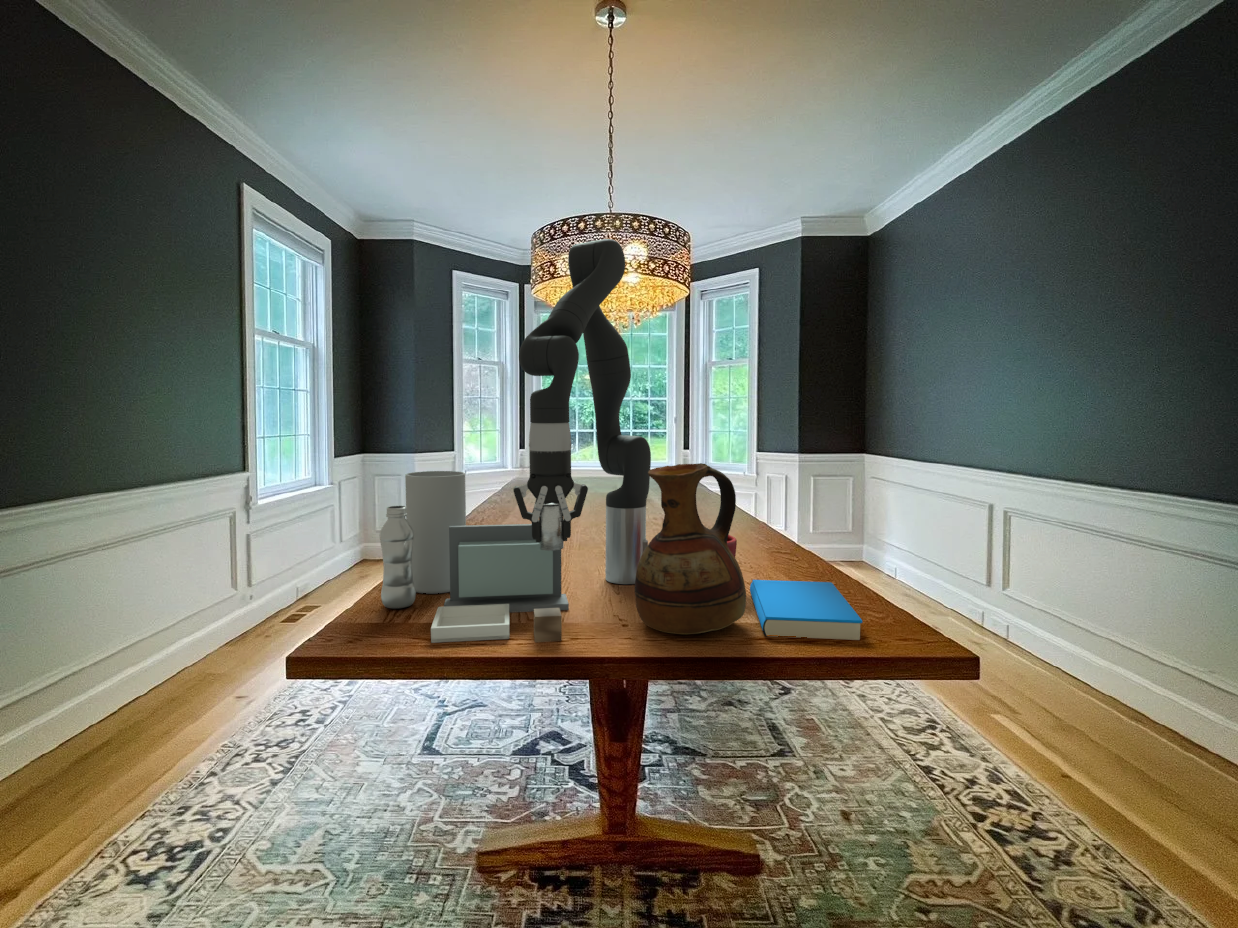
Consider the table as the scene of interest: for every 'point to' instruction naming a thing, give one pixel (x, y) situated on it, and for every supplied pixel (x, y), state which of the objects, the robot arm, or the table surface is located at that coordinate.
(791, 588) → the book
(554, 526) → the steel cylinder
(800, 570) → the table surface
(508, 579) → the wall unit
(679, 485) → the ceramic pitcher
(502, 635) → the tray
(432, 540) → the cylinder vase
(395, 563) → the plastic bottle
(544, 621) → the walnut block
